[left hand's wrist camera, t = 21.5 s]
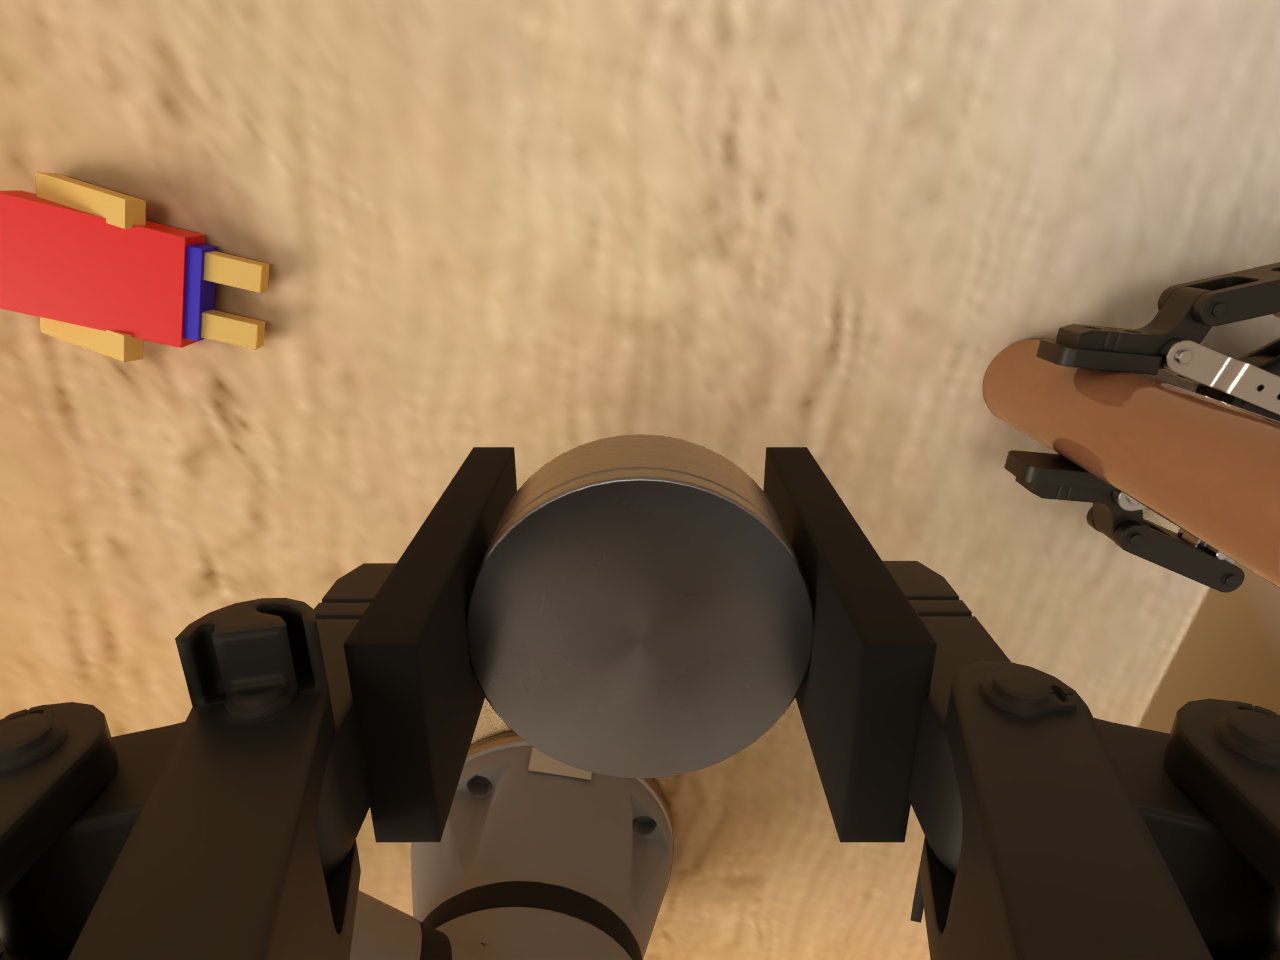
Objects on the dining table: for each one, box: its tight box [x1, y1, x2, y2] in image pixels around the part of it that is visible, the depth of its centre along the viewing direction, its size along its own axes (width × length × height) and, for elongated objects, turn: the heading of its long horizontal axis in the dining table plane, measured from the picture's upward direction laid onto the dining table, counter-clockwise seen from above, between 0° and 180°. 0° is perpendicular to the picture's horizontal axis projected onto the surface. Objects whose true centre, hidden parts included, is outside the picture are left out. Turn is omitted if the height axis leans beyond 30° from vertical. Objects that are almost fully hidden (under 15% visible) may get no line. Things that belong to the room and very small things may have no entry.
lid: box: [466, 435, 815, 778], centre depth 11 cm, size 5×5×2 cm
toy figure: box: [0, 172, 270, 362], centre depth 32 cm, size 2×7×12 cm
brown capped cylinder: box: [983, 339, 1280, 588], centre depth 26 cm, size 4×4×19 cm
